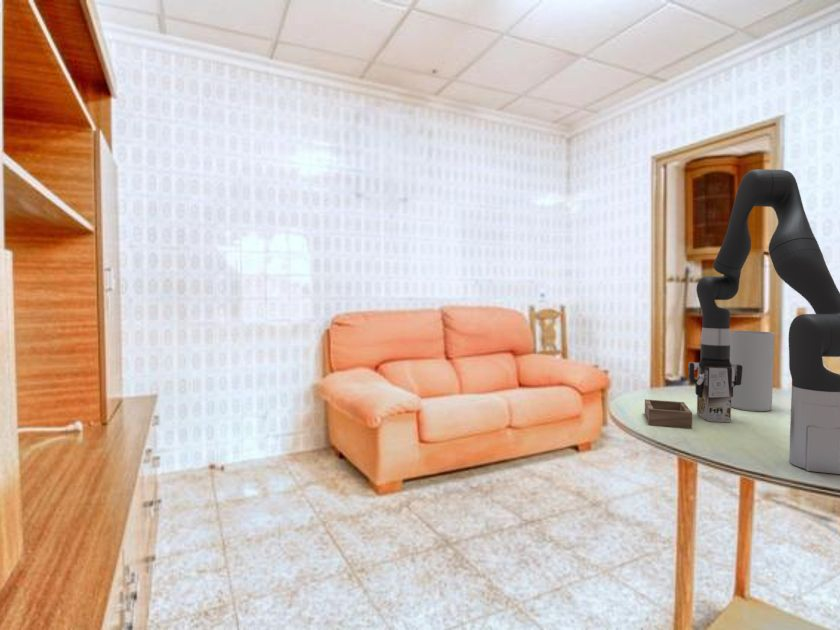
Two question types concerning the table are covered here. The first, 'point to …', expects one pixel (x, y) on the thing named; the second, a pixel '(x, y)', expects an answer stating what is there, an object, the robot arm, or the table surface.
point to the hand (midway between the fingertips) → (713, 397)
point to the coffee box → (715, 394)
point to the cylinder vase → (752, 369)
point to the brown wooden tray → (668, 414)
